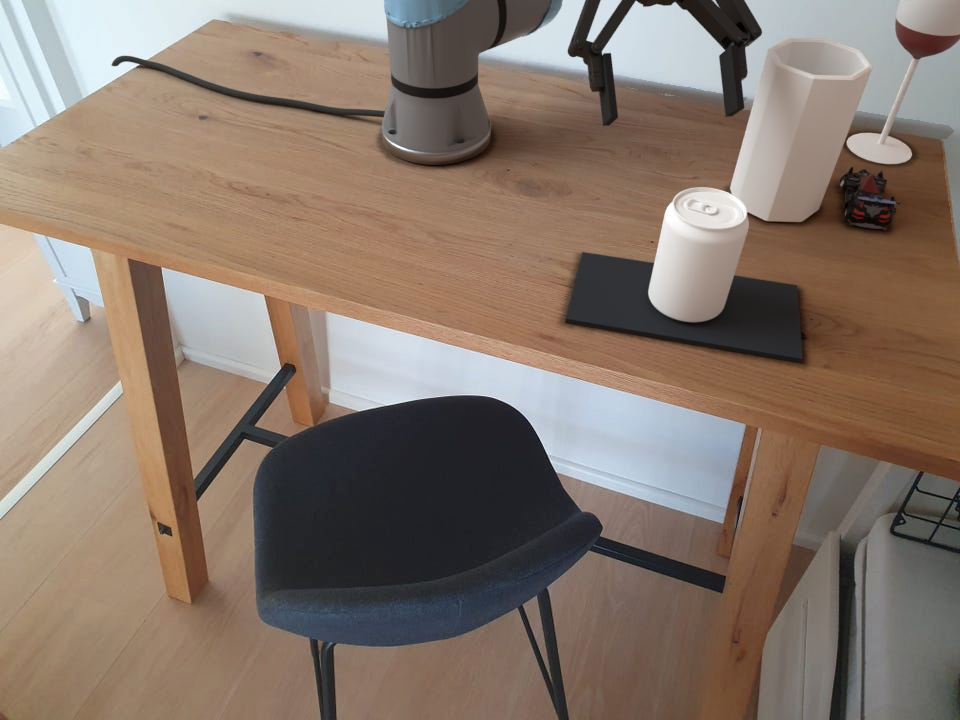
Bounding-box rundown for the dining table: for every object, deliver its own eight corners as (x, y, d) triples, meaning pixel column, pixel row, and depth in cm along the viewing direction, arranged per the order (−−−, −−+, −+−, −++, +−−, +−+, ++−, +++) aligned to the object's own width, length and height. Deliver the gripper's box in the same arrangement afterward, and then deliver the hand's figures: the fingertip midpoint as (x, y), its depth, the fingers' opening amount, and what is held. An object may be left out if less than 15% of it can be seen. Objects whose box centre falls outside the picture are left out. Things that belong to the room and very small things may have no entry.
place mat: (565, 322, 81) (565, 318, 80) (581, 255, 89) (582, 251, 89) (801, 363, 77) (802, 358, 76) (795, 289, 85) (797, 285, 85)
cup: (824, 188, 100) (877, 47, 87) (812, 233, 93) (868, 86, 80) (738, 168, 103) (777, 29, 90) (720, 211, 96) (759, 66, 83)
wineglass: (842, 158, 105) (910, -19, 89) (846, 125, 112) (910, -45, 96) (913, 172, 103) (996, -7, 87) (914, 138, 110) (991, -35, 93)
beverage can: (707, 337, 79) (736, 241, 70) (635, 309, 82) (654, 214, 73) (733, 294, 83) (763, 200, 75) (664, 269, 86) (685, 176, 78)
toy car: (841, 226, 94) (852, 197, 91) (834, 175, 102) (844, 148, 99) (893, 233, 93) (907, 205, 90) (882, 182, 101) (894, 154, 98)
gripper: (746, -73, 84) (766, 119, 85) (525, -64, 81) (548, 136, 81) (782, -115, 77) (804, 96, 77) (541, -107, 73) (566, 114, 74)
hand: (673, 117), depth 79 cm, fingers open, 13 cm apart
